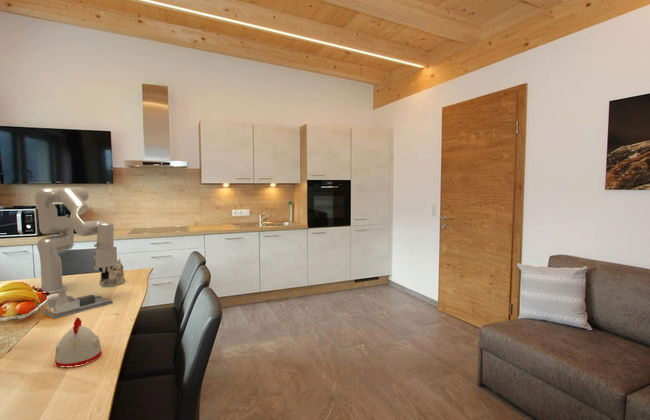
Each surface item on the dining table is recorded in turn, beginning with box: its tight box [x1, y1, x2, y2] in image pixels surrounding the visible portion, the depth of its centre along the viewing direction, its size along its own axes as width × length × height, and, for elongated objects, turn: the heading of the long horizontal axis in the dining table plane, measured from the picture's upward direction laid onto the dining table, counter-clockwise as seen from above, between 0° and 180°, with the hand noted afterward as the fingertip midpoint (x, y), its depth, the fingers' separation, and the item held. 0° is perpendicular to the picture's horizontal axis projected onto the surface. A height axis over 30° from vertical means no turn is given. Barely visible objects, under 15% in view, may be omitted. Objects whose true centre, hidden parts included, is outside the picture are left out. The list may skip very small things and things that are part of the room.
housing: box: [46, 293, 96, 314], centre depth 176 cm, size 12×18×4 cm, turn 145°
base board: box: [42, 295, 114, 319], centre depth 178 cm, size 13×26×2 cm, turn 145°
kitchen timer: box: [54, 317, 102, 367], centre depth 129 cm, size 14×14×15 cm
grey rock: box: [98, 258, 127, 289], centre depth 218 cm, size 16×16×15 cm
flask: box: [53, 288, 69, 311], centre depth 172 cm, size 7×7×10 cm
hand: (105, 278), depth 189 cm, fingers closed
